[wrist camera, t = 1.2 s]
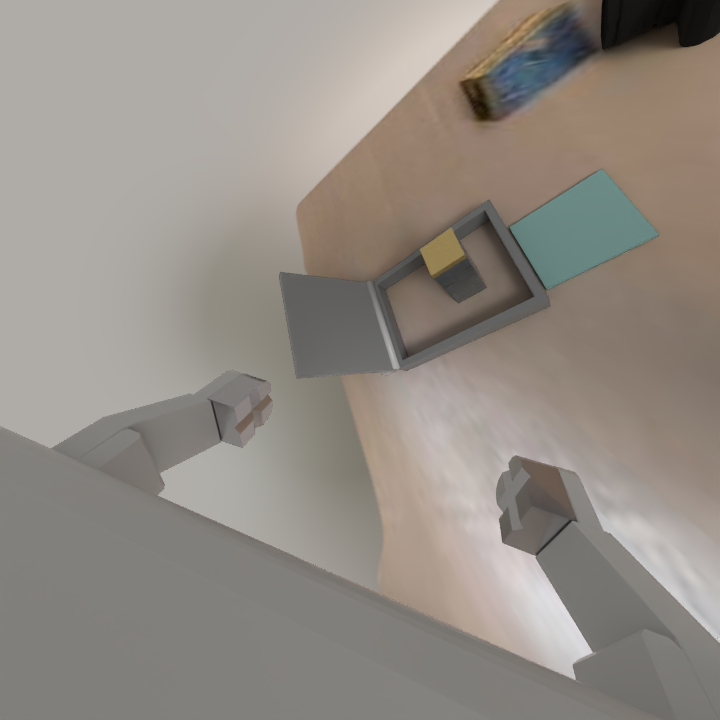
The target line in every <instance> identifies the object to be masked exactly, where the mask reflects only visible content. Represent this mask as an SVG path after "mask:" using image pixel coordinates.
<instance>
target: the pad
mask: <svg viewBox="0 0 720 720" xmlns="http://www.w3.org/2000/svg"><path fill="white" fill-rule="evenodd" d="M509 228H510V230H511V232H512V233H513V235H514V237H515V238H516V240H517V242H518V243H519V245H520V247H521V248H522V250H523V252H524V253H525V255H526V257H527V258H528V260H529V262H530V263H531V265H532V267H533V268H534V270H535V272H536V273H537V275H538V276H539V278H540V280H541V281H542V283H543V285H544V286H545V288H546V290H548V289H550V288H552V287H554V286H556V285H558V284H560V283H562V282H564V281H566V280H568V279H570V278H572V277H574V276H577V275H579V274H581V273H583V272H585V271H587V270H589V269H591V268H593V267H595V266H597V265H599V264H601V263H603V262H606V261H608V260H610V259H612V258H614V257H616V256H618V255H620V254H622V253H624V252H626V251H628V250H630V249H632V248H635V247H637V246H639V245H641V244H643V243H645V242H647V241H649V240H651V239H653V238H655V237H657V236H658V235H659V233H658V232H657V231H656V230H655V229H654V228H653V227H652V225H651V224H650V223H649V222H648V221H647V220H646V218H645V217H644V216H643V215H642V214H641V213H640V212H639V210H638V209H637V208H636V207H635V206H634V205H633V203H632V202H631V201H630V200H629V199H628V198H627V197H626V195H625V194H624V193H623V192H622V191H621V190H620V188H619V187H618V186H617V185H616V184H615V183H614V182H613V180H612V179H611V178H610V177H609V176H608V175H607V173H606V172H605V171H604V170H603V169H601V170H599V171H598V172H596V173H594V174H593V175H591V176H590V177H588V178H586V179H585V180H583V181H582V182H580V183H579V184H577V185H575V186H574V187H572V188H571V189H569V190H567V191H566V192H564V193H563V194H561V195H560V196H558V197H556V198H555V199H553V200H552V201H550V202H549V203H547V204H545V205H544V206H542V207H541V208H539V209H537V210H536V211H534V212H533V213H531V214H530V215H528V216H526V217H525V218H523V219H522V220H520V221H518V222H517V223H515V224H514V225H512V226H511V227H509Z"/></svg>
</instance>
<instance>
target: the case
mask: <svg viewBox="0 0 720 720" xmlns="http://www.w3.org/2000/svg"><path fill="white" fill-rule="evenodd" d="M487 221H490V223H491V224H492V226H493V228H494V230H495V231H496V233H497V235H498V237H499V238H500V240H501V242H502V244H503V245H504V247H505V249H506V251H507V252H508V254H509V256H510V258H511V259H512V261H513V263H514V264H515V266H516V268H517V270H518V271H519V273H520V275H521V277H522V278H523V280H524V282H525V284H526V285H527V287H528V289H529V291H530V292H531V294H532V296H533V298H531V299H529V300H527V301H525V302H522V303H520V304H518V305H516V306H514V307H512V308H510V309H508V310H506V311H504V312H502V313H500V314H498V315H495V316H493V317H491V318H489V319H487V320H485V321H483V322H481V323H479V324H477V325H475V326H473V327H470V328H468V329H466V330H464V331H462V332H460V333H458V334H456V335H454V336H452V337H450V338H448V339H446V340H443V341H441V342H439V343H437V344H435V345H433V346H431V347H429V348H427V349H425V350H423V351H421V352H419V353H416V354H414V355H412V356H410V357H408V355H407V352H406V349H405V346H404V343H403V340H402V337H401V334H400V331H399V329H398V326H397V323H396V320H395V317H394V314H393V311H392V308H391V305H390V302H389V299H388V296H387V293H386V289H387V288H389V287H390V286H392V285H393V284H395V283H396V282H398V281H399V280H401V279H402V278H404V277H405V276H407V275H408V274H410V273H411V272H413V271H414V270H416V269H417V268H419V267H420V266H422V265H423V264H425V260H424V258H423V256H422V253H421V251H420V249H421V248H422V247H421V248H420V249H418V250H417V251H416V252H414V253H413V254H411V255H410V256H409V257H407V258H406V259H404V260H403V261H402V262H400V263H399V264H397V265H396V266H394V267H393V268H392V269H390V270H389V271H387V272H386V273H385V274H383V275H382V276H380V277H379V278H378V279H376V280H375V281H373V282H372V281H367V282H360V281H351V280H343V279H334V278H326V277H318V276H309V275H301V274H292V273H284V272H280V274H279V279H280V285H281V291H282V297H283V303H284V309H285V314H286V320H287V326H288V332H289V338H290V344H291V350H292V355H293V361H294V367H295V373H296V378H297V379H299V378H311V377H325V376H338V375H351V374H364V373H377V372H381V374H382V375H384V376H386V375H389V374H391V373H393V372H395V371H397V370H399V369H401V370H405V371H407V370H410V369H412V368H414V367H416V366H419V365H421V364H423V363H425V362H427V361H430V360H432V359H434V358H436V357H438V356H441V355H443V354H445V353H447V352H449V351H452V350H454V349H456V348H458V347H461V346H463V345H465V344H467V343H469V342H472V341H474V340H476V339H478V338H480V337H483V336H485V335H487V334H489V333H492V332H494V331H496V330H498V329H500V328H503V327H505V326H507V325H509V324H511V323H514V322H516V321H518V320H520V319H522V318H525V317H527V316H529V315H531V314H534V313H536V312H538V311H540V310H542V309H545V308H547V307H549V306H550V302H549V298H548V297H547V295H546V293H545V292H544V290H543V288H542V287H541V285H540V283H539V282H538V280H537V278H536V276H535V275H534V273H533V271H532V270H531V268H530V266H529V265H528V263H527V261H526V260H525V258H524V256H523V255H522V253H521V251H520V250H519V248H518V246H517V245H516V243H515V241H514V240H513V238H512V236H511V235H510V233H509V231H508V230H507V228H506V226H505V225H504V223H503V221H502V220H501V218H500V216H499V215H498V213H497V211H496V210H495V208H494V206H493V205H492V203H491V201H490V200H487V201H486V202H485V203H483V204H482V205H480V206H479V207H478V208H476V209H475V210H473V211H472V212H471V213H469V214H468V215H466V216H465V217H464V218H462V219H461V220H459V221H458V222H456V223H455V224H454V225H452V226H451V227H449V228H452V230H453V231H454V233H455V234H456V236H457V237H458V239H459V240H460V239H462V238H463V237H465V236H466V235H468V234H469V233H471V232H472V231H474V230H475V229H477V228H478V227H480V226H481V225H483V224H484V223H486V222H487ZM449 228H448V229H449ZM448 229H447V230H448ZM445 231H446V230H445ZM445 231H444V232H445ZM444 232H442V233H444ZM442 233H441V234H442ZM441 234H440V235H441ZM438 236H439V235H438ZM438 236H437V237H438ZM437 237H435V238H437ZM435 238H434V239H435ZM434 239H433V240H434ZM431 241H432V240H431ZM431 241H430V242H431ZM430 242H428V243H430ZM428 243H427V244H428ZM427 244H425V245H427ZM425 245H424V246H425ZM424 246H423V247H424Z"/></svg>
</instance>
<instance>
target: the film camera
mask: <svg viewBox="0 0 720 720" xmlns="http://www.w3.org/2000/svg"><path fill="white" fill-rule="evenodd" d="M673 21H676V22H677V26H678V33H679V43H680V45H681V46H683V47H689V46H695V45H699V44H701V43H703V42H705V41H706V40H709V39H711V38H713V37H714V36H716V35H717V34H718V33H719V32H720V0H602V13H601V41H602V49H603V50H605V49H607V48H609V47H610V46H612V45H614V46H616V45H619V44H621V43H623V42H624V41H626V40H628V39H629V38H631V37H633V36H634V35H636V34H638V33H643V32H645V31H646V30H648V29H650V28H651V27H652V26H653V25H654V24H657V25H658V27H663V26H665V25H667V24H669V23H671V22H673Z"/></svg>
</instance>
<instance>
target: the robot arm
mask: <svg viewBox="0 0 720 720" xmlns="http://www.w3.org/2000/svg"><path fill="white" fill-rule="evenodd" d="M270 392H271V385H270V383H269V382H268V381H265V380H262V379H259V378H256V377H253V376H250V375H247V374H243V373H240V372H237V371H233V370H229V371H226V372H225V373H223V374H222V375H221V376H219V377H218V378H216V379H215V380H214V381H213V382H211V383H209V384H208V385H207V386H205V387H204V388H203V389H201V390H200V391H198V392H197V393H195V394H194V395H192V394H187V395H183V396H179V397H176V398H173V399H168V400H165V401H161V402H158V403H154V404H151V405H147V406H143V407H139V408H135V409H132V410H128V411H124V412H121V413H117V414H113V415H110V416H106V417H103V418H101V419H100V420H98V421H96V422H94V423H93V424H91V425H89V426H88V427H86V428H85V429H83V430H81V431H79V432H78V433H76V434H75V435H73V436H71V437H69V438H68V439H66V440H64V441H63V442H61V443H59V444H58V445H56V446H54V447H53V448H48V447H46V446H44V445H41V444H39V443H37V442H35V441H32V440H30V439H28V438H25V437H23V436H21V435H19V434H17V433H14V432H12V431H10V430H7V429H5V428H3V427H1V426H0V720H720V643H719V642H718V641H717V640H716V639H715V638H714V637H713V636H712V635H711V634H710V633H709V632H708V631H707V630H706V629H705V628H704V627H703V626H702V625H701V624H700V623H699V622H698V621H697V620H696V619H695V618H694V617H693V616H692V615H691V614H690V613H689V612H688V611H687V610H686V609H685V608H684V607H683V606H682V605H681V604H680V603H679V602H678V601H677V600H676V599H675V598H674V597H673V596H672V595H671V594H670V593H669V592H668V591H667V590H666V589H665V588H664V587H663V586H662V585H661V584H660V583H659V582H658V581H657V580H656V579H655V578H654V577H653V576H652V575H651V574H650V573H649V572H648V571H647V570H646V569H645V568H644V567H643V566H642V565H641V564H640V563H639V562H638V561H637V560H636V559H635V558H634V557H633V556H632V555H631V554H630V553H629V552H628V551H627V550H626V549H625V548H624V547H623V546H622V545H621V544H620V543H619V542H618V541H617V540H616V539H615V538H614V537H613V536H612V535H611V534H610V533H607V532H605V531H603V529H602V527H601V524H600V522H599V520H598V518H597V516H596V513H595V511H594V509H593V507H592V504H591V502H590V500H589V498H588V496H587V493H586V491H585V489H584V487H583V485H582V482H581V480H580V478H579V476H578V475H577V474H576V473H575V472H573V471H569V470H566V469H562V468H559V467H555V466H551V465H548V464H544V463H541V462H537V461H534V460H530V459H527V458H523V457H520V456H517V455H516V456H514V457H512V459H511V460H510V462H509V469H510V470H509V471H506V472H503V473H502V475H501V476H500V478H499V480H498V484H497V488H496V499H497V505H498V506H499V507H500V509H501V510H502V512H503V514H502V516H501V517H500V518H499V522H500V529H501V536H502V543H504V544H507V545H509V546H512V547H514V548H517V549H519V550H522V551H524V552H527V553H530V554H532V555H535V556H536V557H535V558H536V559H537V561H538V563H539V564H540V566H541V568H542V569H543V571H544V573H545V574H546V576H547V578H548V579H549V581H550V582H551V584H552V586H553V587H554V589H555V591H556V592H557V594H558V596H559V597H560V599H561V600H562V602H563V604H564V605H565V607H566V609H567V610H568V612H569V614H570V615H571V617H572V619H573V620H574V622H575V623H576V625H577V627H578V628H579V630H580V632H581V633H582V635H583V637H584V638H585V640H586V642H587V643H588V645H589V646H590V648H591V650H592V651H593V653H591V654H589V655H587V656H585V657H583V658H581V659H578V660H577V661H576V662H575V663H574V664H573V669H574V673H575V677H576V680H574V679H572V678H569V677H567V676H565V675H563V674H560V673H558V672H556V671H554V670H551V669H549V668H547V667H544V666H542V665H540V664H538V663H535V662H533V661H531V660H529V659H526V658H524V657H522V656H520V655H517V654H515V653H513V652H511V651H508V650H506V649H504V648H501V647H499V646H497V645H495V644H492V643H490V642H488V641H486V640H483V639H481V638H479V637H477V636H474V635H472V634H470V633H468V632H465V631H463V630H461V629H458V628H456V627H454V626H452V625H449V624H447V623H445V622H443V621H440V620H438V619H436V618H434V617H431V616H429V615H427V614H424V613H422V612H420V611H418V610H415V609H413V608H411V607H409V606H406V605H404V604H402V603H400V602H397V601H395V600H393V599H391V598H388V597H386V596H384V595H381V594H379V593H377V592H375V591H372V590H370V589H368V588H366V587H363V586H361V585H359V584H357V583H354V582H352V581H350V580H347V579H345V578H343V577H341V576H338V575H336V574H334V573H332V572H329V571H327V570H325V569H322V568H320V567H318V566H316V565H314V564H311V563H309V562H307V561H304V560H302V559H300V558H298V557H295V556H293V555H291V554H289V553H286V552H284V551H282V550H280V549H277V548H275V547H273V546H271V545H268V544H266V543H264V542H261V541H259V540H257V539H255V538H252V537H250V536H248V535H245V534H243V533H241V532H239V531H236V530H234V529H232V528H230V527H227V526H225V525H223V524H221V523H218V522H216V521H214V520H212V519H209V518H207V517H204V516H202V515H200V514H198V513H195V512H193V511H191V510H189V509H187V508H184V507H182V506H180V505H178V504H175V503H173V502H171V501H168V500H166V499H164V498H162V497H159V496H157V495H158V494H159V493H160V492H161V491H162V490H163V489H164V485H165V484H164V482H163V480H162V478H161V476H160V473H161V472H163V471H165V470H167V469H169V468H171V467H173V466H175V465H177V464H179V463H181V462H183V461H185V460H187V459H189V458H190V457H193V456H195V455H197V454H198V453H201V452H202V451H204V450H206V449H208V448H210V447H212V446H214V445H216V444H218V443H220V442H221V441H223V442H226V443H229V444H232V445H235V446H238V447H241V448H243V447H244V446H245V445H246V444H247V443H248V441H249V440H250V439H251V438H252V437H253V436H254V435H255V428H257V427H259V426H262V425H264V423H265V422H266V421H267V420H268V418H269V416H270V414H271V412H272V406H273V404H272V399H271V398H270V397H269V395H268V394H269V393H270Z"/></svg>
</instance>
